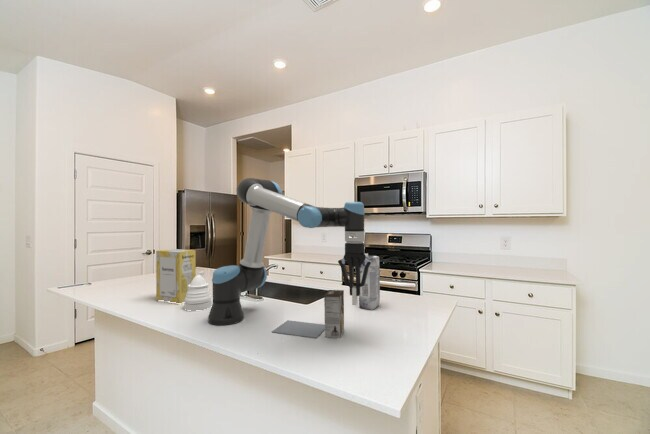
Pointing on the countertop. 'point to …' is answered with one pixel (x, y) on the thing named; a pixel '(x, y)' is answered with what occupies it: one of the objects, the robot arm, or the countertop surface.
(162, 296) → the pasta box
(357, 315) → the countertop surface
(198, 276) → the honey pot
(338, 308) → the coffee box
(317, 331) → the mat
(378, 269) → the juice carton
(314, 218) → the robot arm
